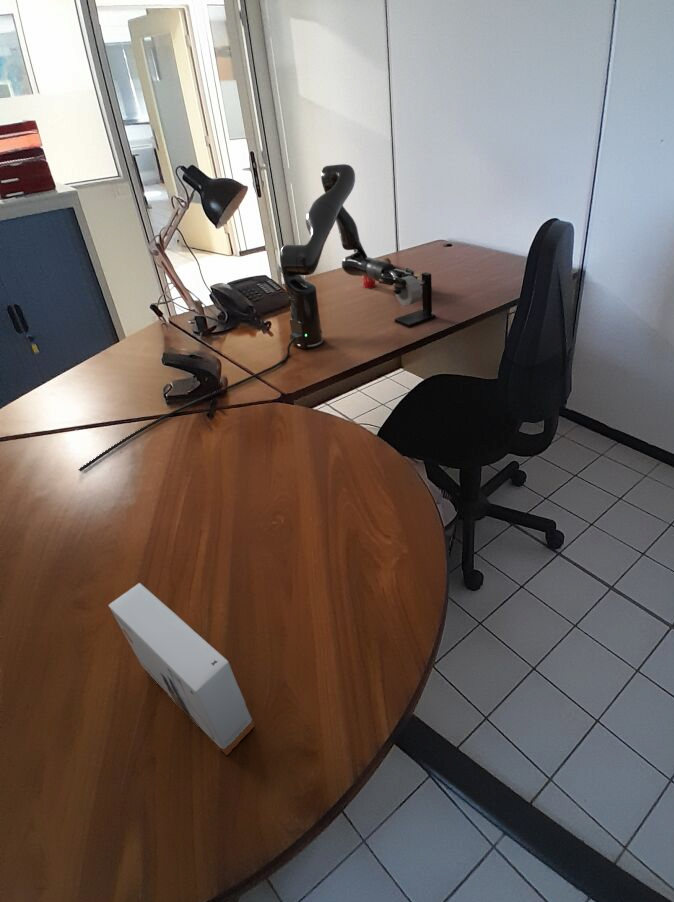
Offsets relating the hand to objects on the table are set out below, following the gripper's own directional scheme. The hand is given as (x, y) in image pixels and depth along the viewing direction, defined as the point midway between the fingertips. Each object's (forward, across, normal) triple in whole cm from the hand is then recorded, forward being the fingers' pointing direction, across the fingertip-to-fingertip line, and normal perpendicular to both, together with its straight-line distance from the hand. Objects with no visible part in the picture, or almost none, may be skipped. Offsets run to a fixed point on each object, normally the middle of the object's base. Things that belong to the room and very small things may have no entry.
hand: (411, 281), depth 190 cm
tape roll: (-2, 0, +9) cm, 9 cm away
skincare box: (+86, -116, +16) cm, 145 cm away
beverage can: (-46, +15, +16) cm, 50 cm away
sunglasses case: (-59, +32, +16) cm, 69 cm away
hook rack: (-2, +3, +16) cm, 16 cm away
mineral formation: (-27, +22, +16) cm, 38 cm away
